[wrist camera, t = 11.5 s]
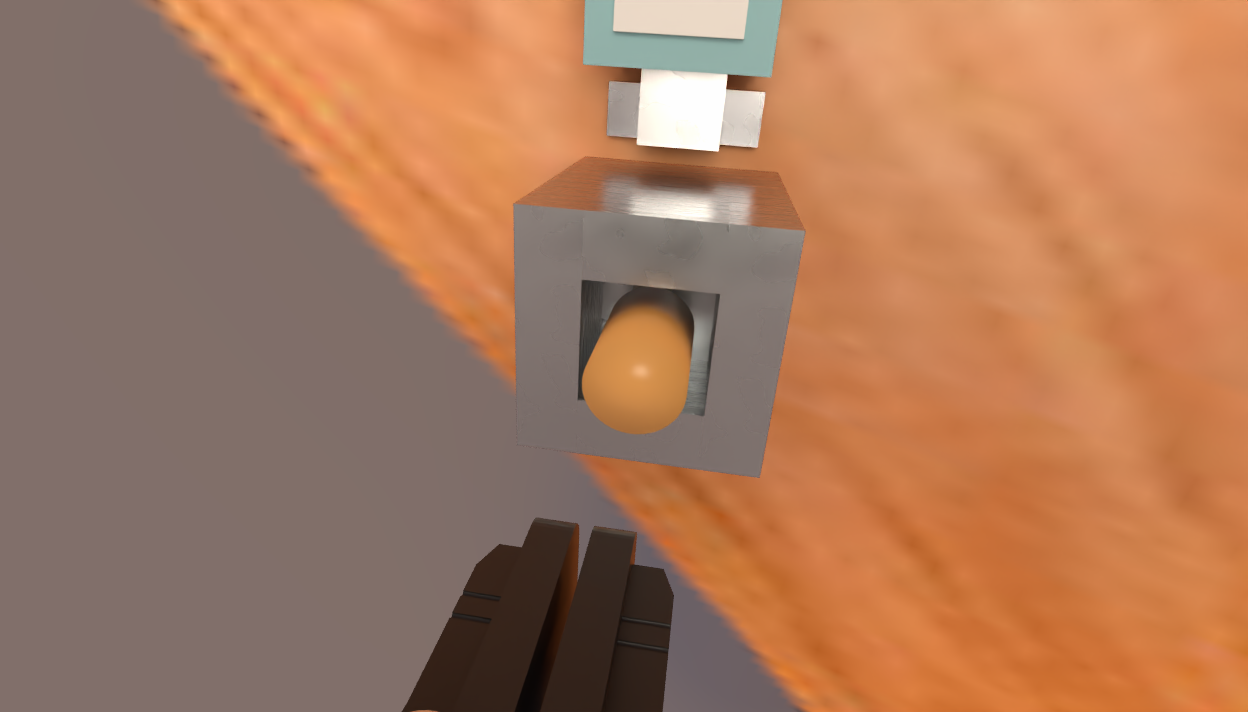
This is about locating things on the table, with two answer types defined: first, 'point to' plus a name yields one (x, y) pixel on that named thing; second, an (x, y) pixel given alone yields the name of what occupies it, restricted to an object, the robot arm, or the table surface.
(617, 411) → the button
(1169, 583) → the table surface
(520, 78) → the table surface
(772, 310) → the cabinet
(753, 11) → the carriage
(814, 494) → the table surface
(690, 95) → the rail
